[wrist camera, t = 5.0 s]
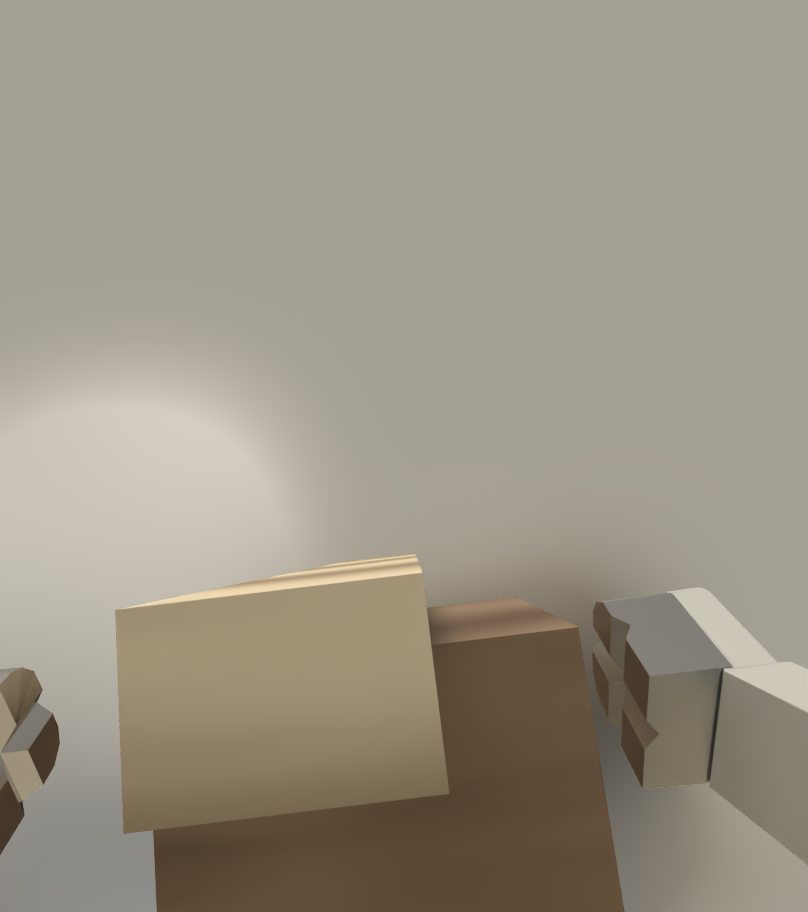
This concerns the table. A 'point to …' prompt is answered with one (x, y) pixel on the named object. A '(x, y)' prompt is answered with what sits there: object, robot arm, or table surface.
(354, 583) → the slat
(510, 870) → the pedestal
